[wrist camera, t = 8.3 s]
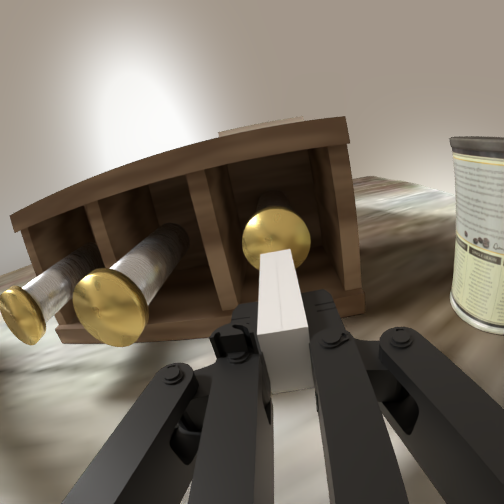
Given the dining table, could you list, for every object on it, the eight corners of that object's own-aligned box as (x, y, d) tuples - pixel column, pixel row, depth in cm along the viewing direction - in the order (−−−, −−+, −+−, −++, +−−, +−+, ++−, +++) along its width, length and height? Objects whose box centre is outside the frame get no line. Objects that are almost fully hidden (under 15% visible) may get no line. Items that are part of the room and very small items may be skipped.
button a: (314, 268, 20) (305, 203, 19) (249, 279, 21) (235, 216, 19) (297, 221, 33) (290, 181, 31) (256, 229, 33) (248, 189, 32)
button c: (47, 346, 16) (18, 289, 15) (17, 344, 17) (-8, 294, 15) (117, 274, 29) (102, 233, 27) (86, 279, 29) (72, 241, 28)
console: (365, 312, 23) (342, 105, 17) (62, 343, 27) (7, 208, 21) (333, 254, 36) (313, 121, 30) (111, 290, 40) (76, 185, 34)
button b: (153, 345, 15) (122, 271, 14) (93, 347, 16) (61, 281, 14) (201, 259, 27) (188, 211, 26) (157, 267, 28) (143, 222, 26)
